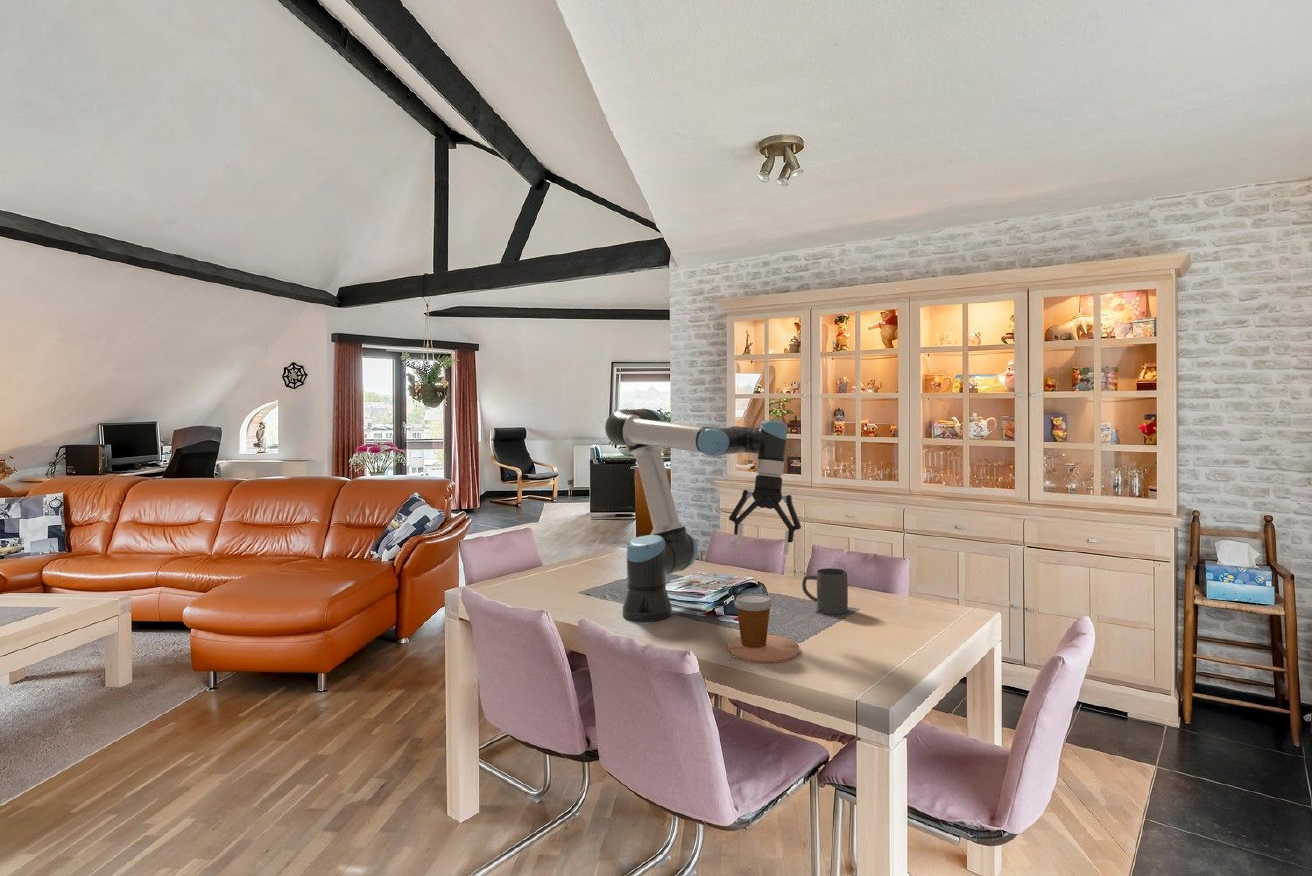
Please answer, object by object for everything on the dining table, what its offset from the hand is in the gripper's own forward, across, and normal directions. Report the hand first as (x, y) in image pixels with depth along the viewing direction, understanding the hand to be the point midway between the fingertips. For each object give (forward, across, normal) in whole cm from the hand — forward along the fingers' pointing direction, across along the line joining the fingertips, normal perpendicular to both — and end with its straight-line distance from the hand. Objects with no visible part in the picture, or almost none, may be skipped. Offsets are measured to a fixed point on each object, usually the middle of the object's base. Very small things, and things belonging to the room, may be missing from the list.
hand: (761, 550), depth 192 cm
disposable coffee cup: (+23, -4, +15) cm, 28 cm away
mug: (+18, -16, -25) cm, 35 cm away
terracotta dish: (+24, -6, +15) cm, 29 cm away
